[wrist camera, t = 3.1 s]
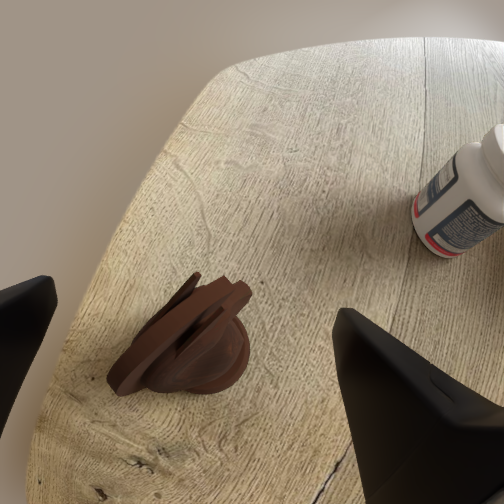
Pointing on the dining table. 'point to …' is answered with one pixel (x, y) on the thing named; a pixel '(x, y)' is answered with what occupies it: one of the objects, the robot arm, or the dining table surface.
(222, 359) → the chess piece
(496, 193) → the pill bottle
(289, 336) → the dining table surface
